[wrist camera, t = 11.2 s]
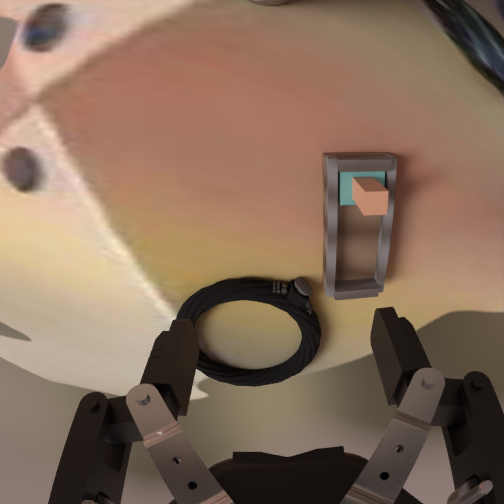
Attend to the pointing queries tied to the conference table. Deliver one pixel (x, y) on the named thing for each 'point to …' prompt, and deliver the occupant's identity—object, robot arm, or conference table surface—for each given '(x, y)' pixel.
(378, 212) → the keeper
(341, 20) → the conference table surface
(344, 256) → the board
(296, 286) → the cable lock
